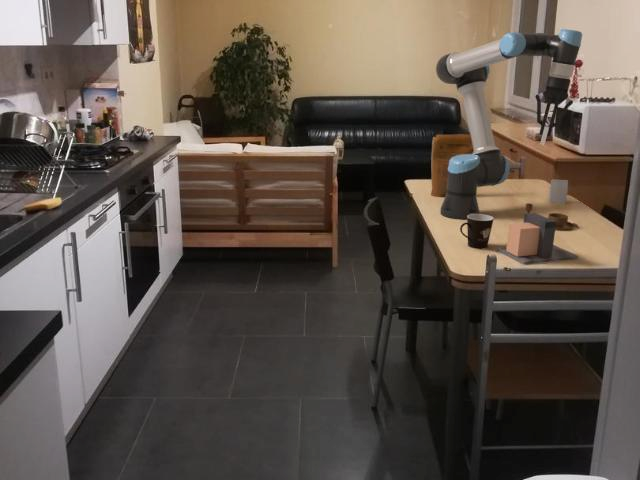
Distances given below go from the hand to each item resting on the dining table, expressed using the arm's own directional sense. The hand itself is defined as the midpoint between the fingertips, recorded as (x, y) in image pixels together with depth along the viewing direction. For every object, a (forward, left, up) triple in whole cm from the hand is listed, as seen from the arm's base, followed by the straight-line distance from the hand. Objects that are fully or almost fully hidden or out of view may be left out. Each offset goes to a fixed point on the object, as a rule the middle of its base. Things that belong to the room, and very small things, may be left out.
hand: (542, 144), depth 224 cm
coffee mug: (-22, -26, -32) cm, 47 cm away
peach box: (-6, -34, -30) cm, 45 cm away
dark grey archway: (-2, -31, -30) cm, 44 cm away
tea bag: (+16, +48, -32) cm, 59 cm away
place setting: (+9, +11, -32) cm, 35 cm away
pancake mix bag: (-30, +46, -32) cm, 63 cm away
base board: (-2, -31, -31) cm, 44 cm away
